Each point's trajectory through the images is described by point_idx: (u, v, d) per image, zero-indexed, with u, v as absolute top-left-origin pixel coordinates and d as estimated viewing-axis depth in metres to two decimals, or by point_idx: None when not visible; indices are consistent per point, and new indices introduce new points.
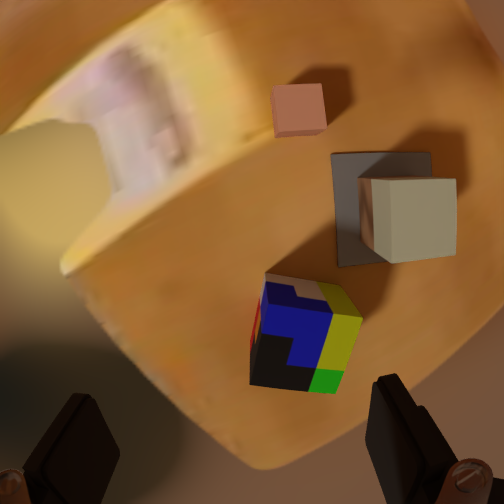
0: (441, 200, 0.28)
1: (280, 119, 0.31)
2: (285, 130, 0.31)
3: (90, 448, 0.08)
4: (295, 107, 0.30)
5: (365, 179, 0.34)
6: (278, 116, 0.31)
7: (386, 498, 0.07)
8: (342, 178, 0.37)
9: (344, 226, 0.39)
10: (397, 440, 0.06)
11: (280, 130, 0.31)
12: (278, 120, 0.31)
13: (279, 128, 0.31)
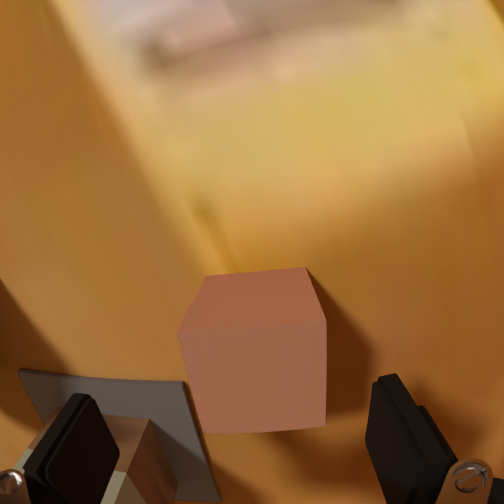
0: None
1: (214, 338, 0.11)
2: (183, 348, 0.11)
3: (90, 448, 0.08)
4: (256, 375, 0.11)
5: (133, 450, 0.16)
6: (224, 333, 0.11)
7: (386, 498, 0.07)
8: (142, 397, 0.18)
9: (69, 389, 0.18)
10: (397, 440, 0.06)
11: (181, 336, 0.11)
12: (211, 332, 0.11)
13: (187, 333, 0.11)
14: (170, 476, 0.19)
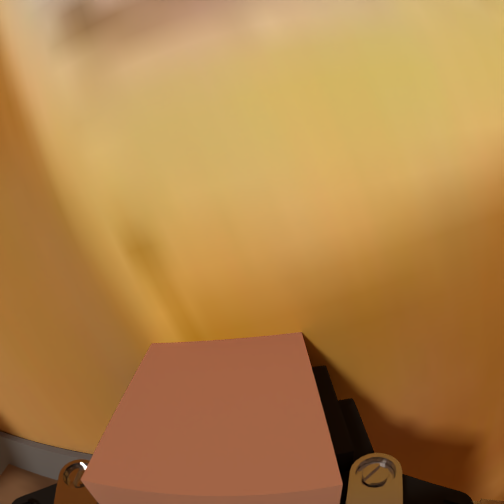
0: None
1: (140, 497, 0.05)
2: (98, 497, 0.05)
3: None
4: None
5: None
6: (155, 495, 0.04)
7: None
8: None
9: (15, 450, 0.12)
10: None
11: (89, 486, 0.04)
12: (134, 490, 0.04)
13: (97, 485, 0.05)
14: None
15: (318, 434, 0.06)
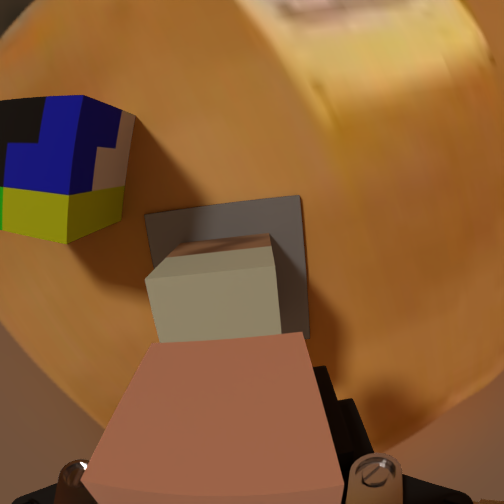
0: None
1: (140, 498, 0.04)
2: (98, 497, 0.05)
3: None
4: None
5: (268, 240, 0.26)
6: (155, 495, 0.04)
7: None
8: (267, 211, 0.28)
9: (200, 218, 0.28)
10: None
11: (88, 486, 0.04)
12: (134, 491, 0.04)
13: (96, 485, 0.04)
14: None
15: (319, 434, 0.06)
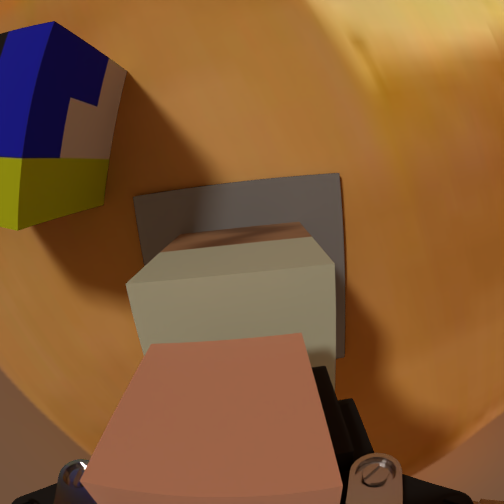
0: None
1: (139, 499, 0.04)
2: (97, 498, 0.05)
3: None
4: None
5: (304, 230, 0.18)
6: (154, 496, 0.04)
7: None
8: (297, 193, 0.21)
9: (207, 201, 0.21)
10: None
11: (88, 487, 0.04)
12: (133, 492, 0.04)
13: (96, 486, 0.04)
14: None
15: (318, 435, 0.06)
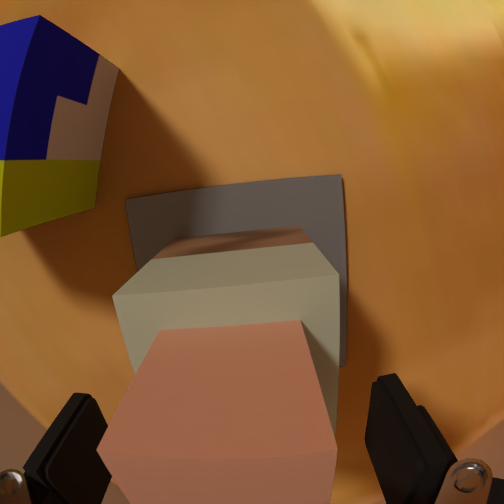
0: None
1: (152, 465, 0.05)
2: (111, 467, 0.06)
3: (90, 448, 0.08)
4: None
5: (304, 235, 0.17)
6: (167, 461, 0.05)
7: (386, 498, 0.07)
8: (297, 195, 0.20)
9: (202, 204, 0.20)
10: (396, 440, 0.06)
11: (104, 455, 0.05)
12: (147, 457, 0.05)
13: (112, 454, 0.05)
14: None
15: (315, 406, 0.07)
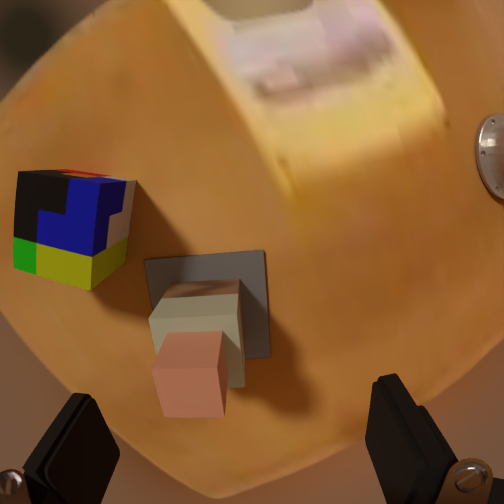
0: None
1: (167, 372, 0.22)
2: (154, 375, 0.22)
3: (90, 448, 0.08)
4: (187, 389, 0.23)
5: (237, 287, 0.34)
6: (171, 370, 0.22)
7: (386, 498, 0.07)
8: (238, 262, 0.37)
9: (187, 265, 0.37)
10: (397, 440, 0.06)
11: (153, 370, 0.22)
12: (166, 369, 0.22)
13: (155, 369, 0.22)
14: (243, 327, 0.38)
15: (215, 357, 0.24)
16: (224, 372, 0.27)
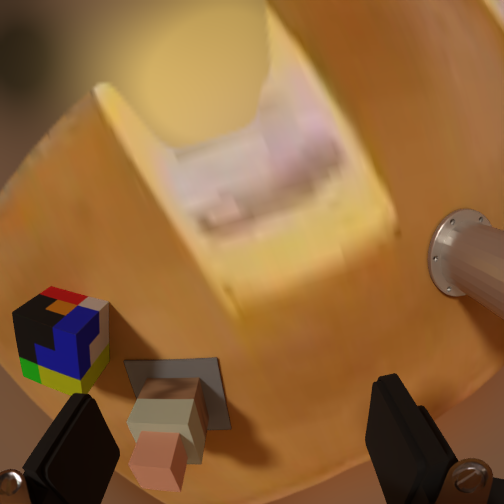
0: None
1: (139, 467, 0.28)
2: (131, 467, 0.28)
3: (90, 448, 0.08)
4: (153, 476, 0.28)
5: (195, 390, 0.40)
6: (141, 466, 0.28)
7: (386, 498, 0.07)
8: (197, 366, 0.43)
9: (157, 367, 0.43)
10: (397, 440, 0.06)
11: (129, 465, 0.28)
12: (138, 465, 0.28)
13: (131, 465, 0.28)
14: (206, 410, 0.44)
15: (170, 459, 0.29)
16: (181, 460, 0.32)
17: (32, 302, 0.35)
